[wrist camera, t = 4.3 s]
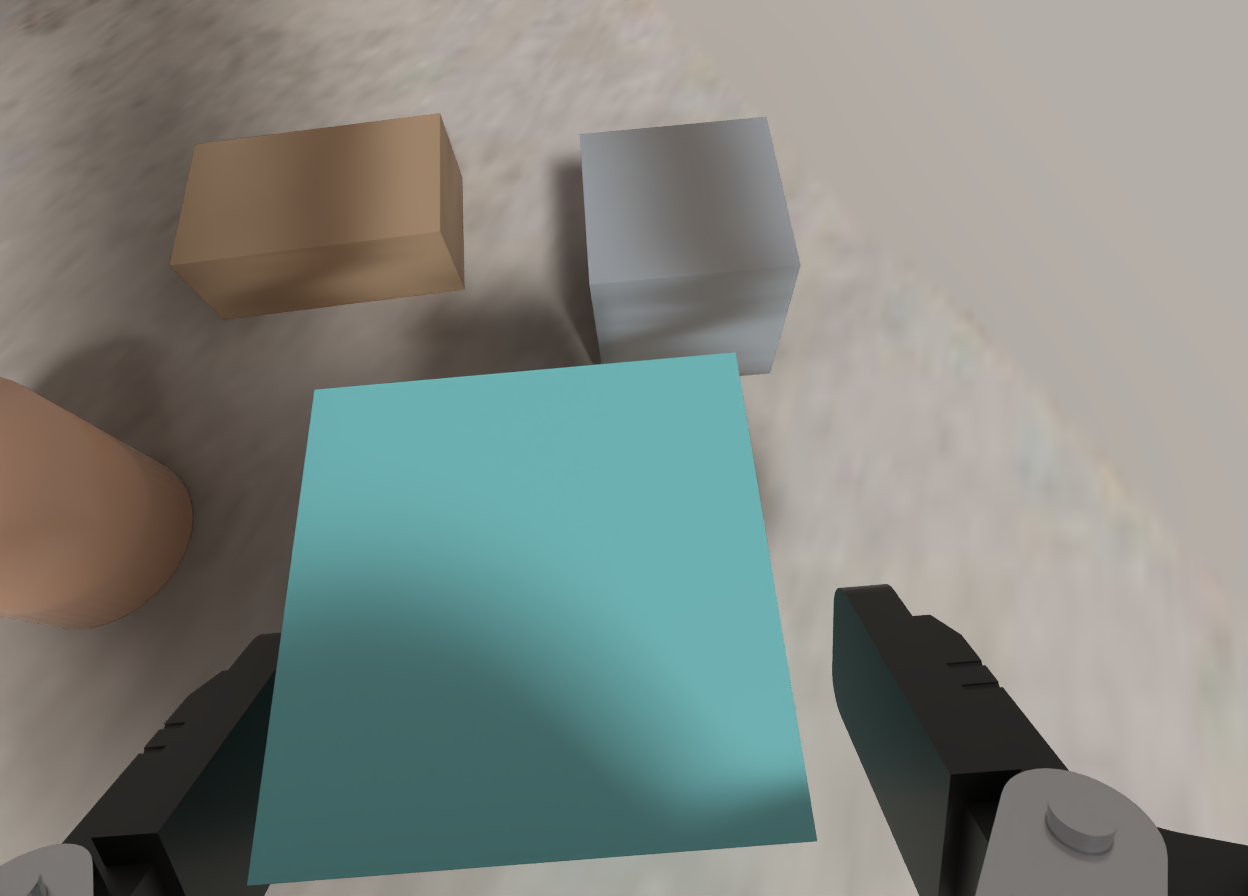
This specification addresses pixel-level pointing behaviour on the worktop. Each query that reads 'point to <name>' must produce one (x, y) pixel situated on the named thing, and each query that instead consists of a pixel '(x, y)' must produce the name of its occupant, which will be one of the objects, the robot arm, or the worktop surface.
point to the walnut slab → (322, 218)
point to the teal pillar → (529, 629)
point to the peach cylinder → (81, 517)
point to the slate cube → (688, 242)
